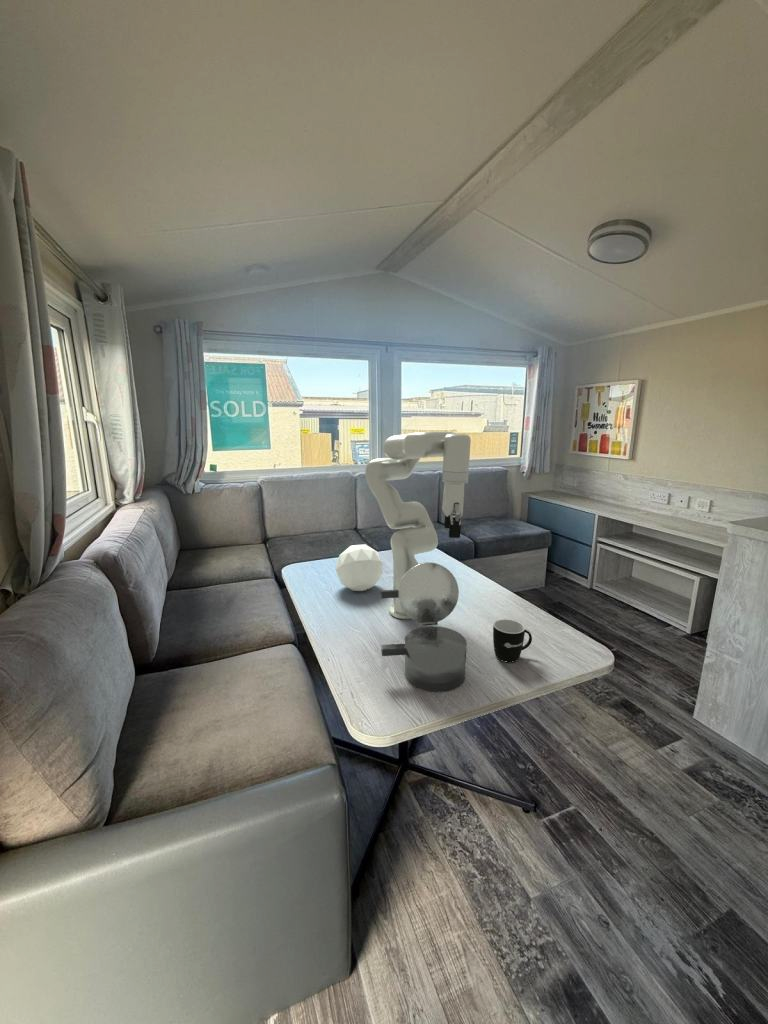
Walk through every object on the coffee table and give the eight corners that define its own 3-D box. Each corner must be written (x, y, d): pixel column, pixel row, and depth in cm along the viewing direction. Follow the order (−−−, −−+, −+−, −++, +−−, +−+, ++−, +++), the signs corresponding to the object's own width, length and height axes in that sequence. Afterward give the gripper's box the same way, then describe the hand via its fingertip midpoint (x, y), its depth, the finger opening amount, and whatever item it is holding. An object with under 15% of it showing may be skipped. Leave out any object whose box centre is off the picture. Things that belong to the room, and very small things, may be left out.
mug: (499, 666, 122) (501, 634, 120) (486, 650, 131) (488, 620, 128) (537, 662, 124) (540, 631, 122) (523, 647, 133) (525, 617, 130)
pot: (378, 659, 126) (378, 628, 123) (456, 655, 128) (457, 624, 126) (384, 696, 109) (384, 661, 107) (473, 690, 112) (475, 655, 109)
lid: (382, 628, 123) (381, 625, 126) (459, 624, 126) (456, 621, 128) (380, 564, 122) (380, 563, 125) (458, 562, 125) (456, 560, 127)
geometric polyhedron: (355, 608, 175) (331, 580, 163) (346, 576, 191) (324, 548, 179) (395, 586, 174) (374, 556, 162) (383, 556, 190) (363, 526, 178)
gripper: (438, 471, 132) (436, 524, 136) (446, 481, 115) (443, 541, 120) (462, 472, 132) (459, 525, 136) (473, 482, 115) (469, 541, 120)
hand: (451, 532), depth 128 cm, fingers open, 9 cm apart
